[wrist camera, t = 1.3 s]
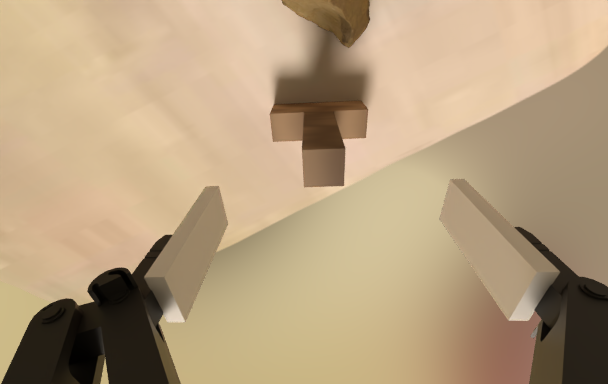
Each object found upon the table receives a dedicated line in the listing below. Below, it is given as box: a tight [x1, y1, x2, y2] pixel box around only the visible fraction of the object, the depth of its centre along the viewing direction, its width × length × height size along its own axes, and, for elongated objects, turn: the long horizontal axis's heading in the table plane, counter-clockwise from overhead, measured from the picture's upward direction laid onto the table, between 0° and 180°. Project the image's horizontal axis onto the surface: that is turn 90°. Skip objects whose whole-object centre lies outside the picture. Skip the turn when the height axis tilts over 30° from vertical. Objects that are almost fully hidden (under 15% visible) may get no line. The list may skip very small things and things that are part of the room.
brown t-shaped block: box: [270, 101, 368, 187], centre depth 25 cm, size 10×3×14 cm, turn 93°
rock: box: [282, 0, 370, 48], centre depth 23 cm, size 11×9×10 cm
